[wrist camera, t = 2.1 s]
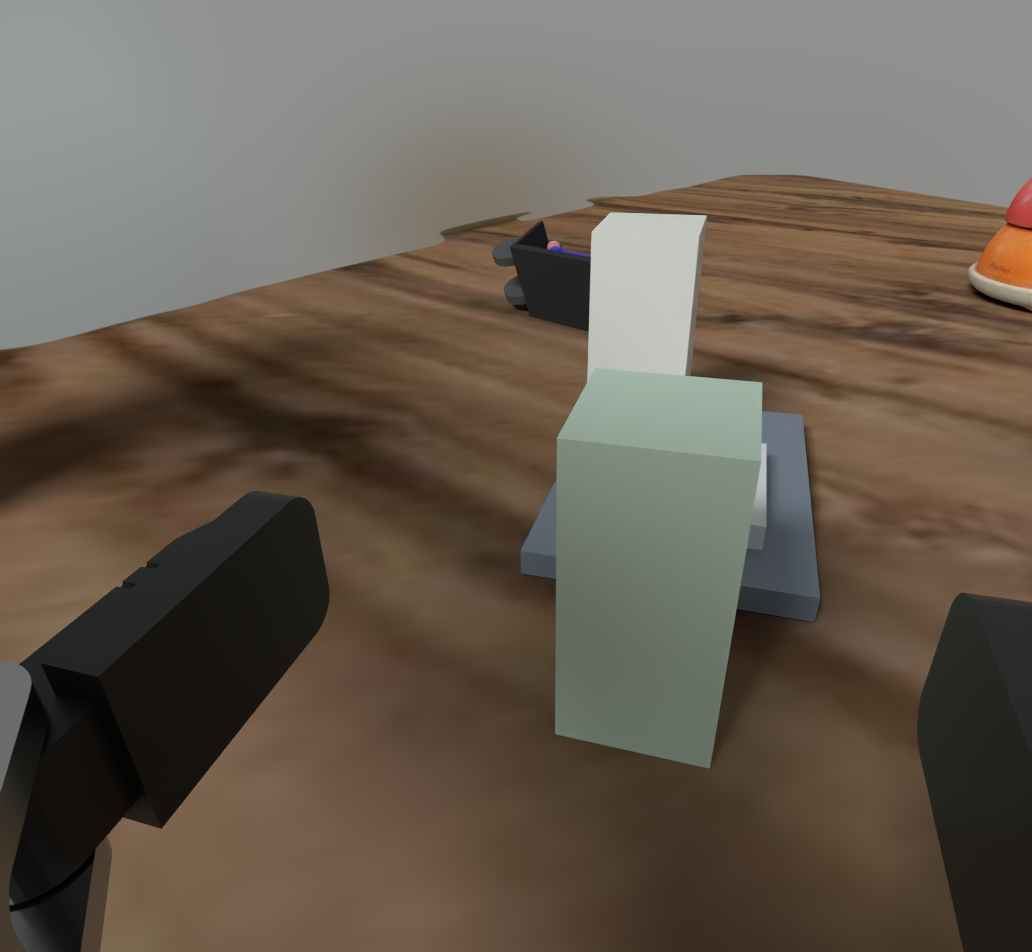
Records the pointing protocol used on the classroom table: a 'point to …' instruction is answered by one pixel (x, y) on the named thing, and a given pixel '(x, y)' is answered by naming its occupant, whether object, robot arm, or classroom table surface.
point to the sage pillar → (651, 557)
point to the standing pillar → (645, 292)
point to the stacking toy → (1009, 256)
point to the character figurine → (547, 278)
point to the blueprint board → (772, 538)
